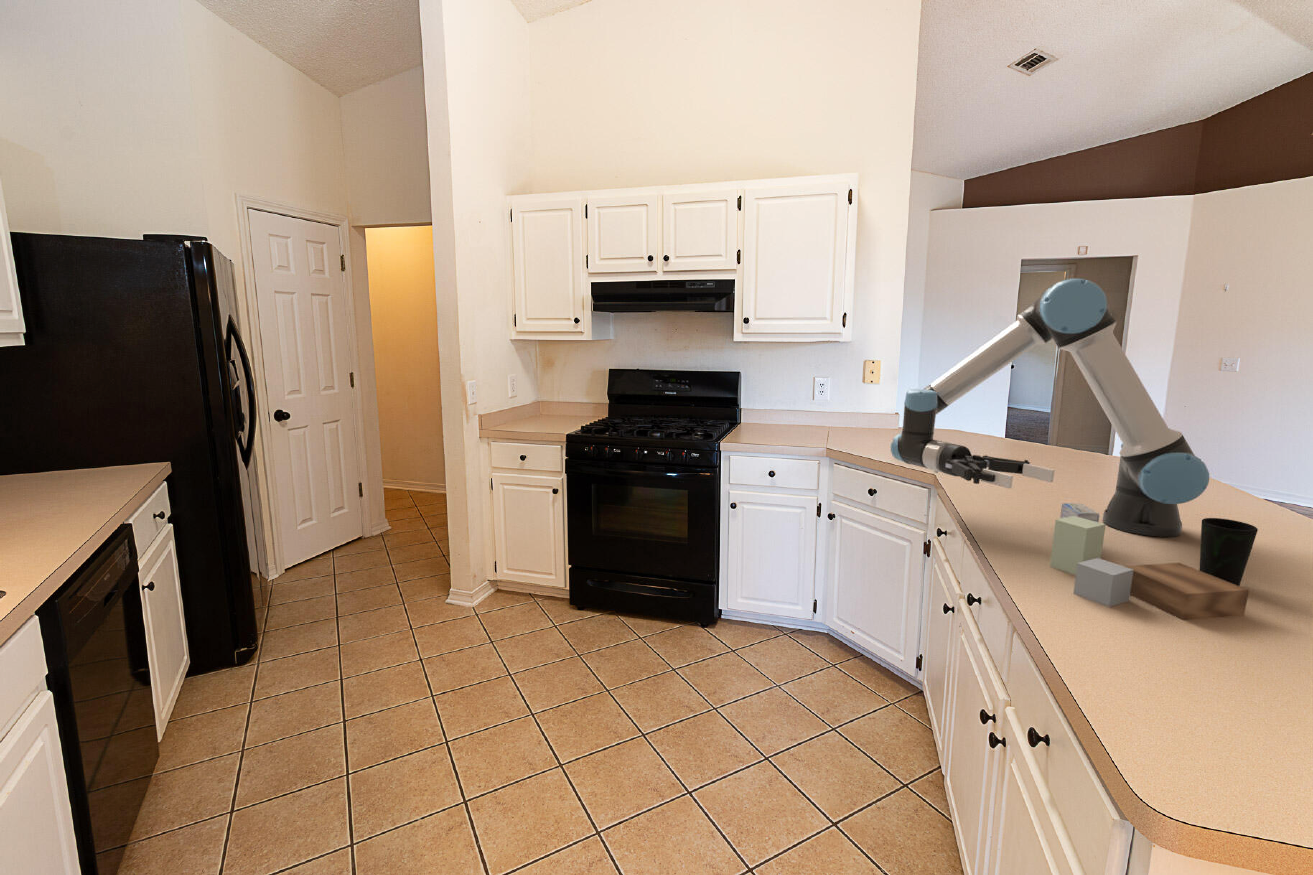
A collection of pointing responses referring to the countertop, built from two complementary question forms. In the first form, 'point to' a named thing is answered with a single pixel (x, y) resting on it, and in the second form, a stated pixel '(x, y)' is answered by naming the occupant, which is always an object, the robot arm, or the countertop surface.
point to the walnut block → (1187, 591)
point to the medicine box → (1078, 511)
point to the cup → (1226, 548)
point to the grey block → (1103, 582)
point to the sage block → (1076, 542)
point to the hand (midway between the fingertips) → (1032, 479)
